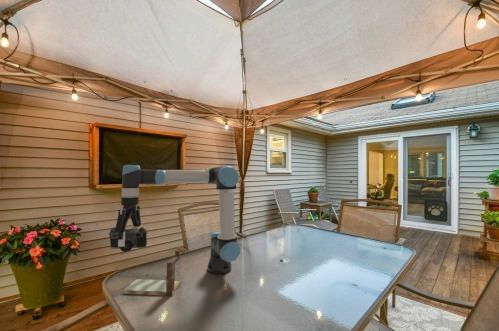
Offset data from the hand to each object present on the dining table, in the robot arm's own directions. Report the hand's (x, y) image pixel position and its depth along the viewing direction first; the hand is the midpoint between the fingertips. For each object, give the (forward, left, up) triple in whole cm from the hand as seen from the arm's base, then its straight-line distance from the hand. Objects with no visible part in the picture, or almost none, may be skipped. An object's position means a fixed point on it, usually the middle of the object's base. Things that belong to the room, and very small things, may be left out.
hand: (128, 242), depth 110 cm
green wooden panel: (-9, -10, -26) cm, 29 cm away
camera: (+1, 0, -3) cm, 3 cm away
